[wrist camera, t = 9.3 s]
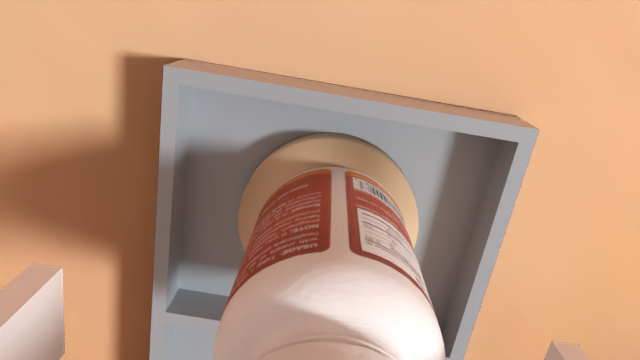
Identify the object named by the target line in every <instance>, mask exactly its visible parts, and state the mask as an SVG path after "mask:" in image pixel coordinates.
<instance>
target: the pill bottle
mask: <svg viewBox="0 0 640 360" xmlns="http://www.w3.org/2000/svg"><path fill="white" fill-rule="evenodd" d="M213 359H214V360H445V348H444V342H443V338H442V334H441V331H440V327H439V324H438V321H437V317H436V315H435V312H434V309H433V306H432V303H431V300H430V297H429V295H428V292H427V289H426V285H425V282H424V279H423V276H422V273H421V270H420V267H419V264H418V261H417V258H416V255H415V252H414V249H413V246H412V243H411V240H410V237H409V234H408V231H407V228H406V224H405V221H404V219H403V216H402V213H401V211H400V209H399V207H398V205H397V203H396V201H395V200H394V198H393V197H392V196H391V194H390V193H389V192H388V191H387V190H386V189H385V188H384V187H383V186H382V185H381V184H380V183H378V182H377V181H376V180H374V179H373V178H371V177H369V176H367V175H365V174H364V173H361V172H358V171H355V170H352V169H348V168H341V167H321V168H315V169H311V170H308V171H305V172H302V173H300V174H297V175H295V176H293V177H291V178H290V179H288V180H286V181H285V182H284V183H282V184H281V185H280V186H279V187H277V189H276V190H275V191H274V192H273V193H272V194H271V195H270V196H269V198H268V199H267V201H266V202H265V204H264V206H263V208H262V209H261V211H260V214H259V216H258V218H257V221H256V224H255V227H254V229H253V232H252V235H251V238H250V240H249V243H248V246H247V249H246V251H245V254H244V257H243V260H242V263H241V265H240V268H239V271H238V274H237V276H236V279H235V282H234V284H233V287H232V290H231V293H230V295H229V298H228V301H227V303H226V306H225V309H224V311H223V314H222V317H221V321H220V324H219V328H218V331H217V335H216V339H215V345H214V355H213Z"/></svg>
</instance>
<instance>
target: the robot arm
mask: <svg viewBox="0 0 640 360" xmlns="http://www.w3.org/2000/svg"><path fill="white" fill-rule="evenodd" d="M64 353H65V341H64V306H63V271H62V267H56V266H50V265H43V264H36V263H32V264H31V265H30V266H28V267H27V268H26V269H25V270H24V271H23V272H21V273H20V274H19V275H18V276H17V277H16V278H14V279H13V280H12V281H11V282H10V283H9V284H7V285H6V286H5V287H4V288H3V289H2V290H0V360H60V358H61V357H62V356H63V354H64ZM544 360H590V358H589V357H588V356H587V354H586V353H585V352H584V350H583V349H582V348H581V346H580V345H577V344H571V343H564V342H557V341H552V342H551V344H550V347H549V349H548V352H547V354H546V357H545V359H544Z"/></svg>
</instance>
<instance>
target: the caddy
mask: <svg viewBox="0 0 640 360" xmlns="http://www.w3.org/2000/svg"><path fill="white" fill-rule="evenodd" d="M320 132H334V133H344V134H348V135H352V136H356V137H359V138H361V139H364V140H366V141H368V142H370V143H372V144H374V145H376V146H377V147H379V148H380V149H381V150H383V151H384V152H386V153H387V154H388V155H389V156H390V157H391V158H392V159H393V160H394V161H395V162H396V164H397V165H398V166H399V167H400V169H401V170H402V172H403V173H404V175H405V177H406V179H407V181H408V183H409V186H410V188H411V191H412V193H413V196H414V198H415V202H416V206H417V210H418V219H419V223H418V235H417V240H416V244H415V247H414V252H415V255H416V258H417V261H418V264H419V267H420V270H421V273H422V276H423V279H424V282H425V285H426V289H427V292H428V295H429V297H430V300H431V303H432V306H433V309H434V312H435V315H436V317H437V321H438V324H439V327H440V331H441V334H442V338H443V342H444V348H445V360H463V358H464V355H465V352H466V349H467V346H468V343H469V340H470V337H471V334H472V331H473V328H474V325H475V322H476V319H477V316H478V313H479V310H480V307H481V304H482V301H483V298H484V295H485V292H486V289H487V286H488V283H489V280H490V277H491V274H492V271H493V268H494V265H495V262H496V259H497V256H498V253H499V250H500V247H501V244H502V241H503V238H504V235H505V232H506V229H507V226H508V223H509V220H510V217H511V214H512V211H513V208H514V205H515V202H516V199H517V196H518V193H519V190H520V187H521V184H522V181H523V178H524V175H525V172H526V169H527V166H528V163H529V160H530V157H531V154H532V151H533V148H534V145H535V142H536V139H537V136H538V133H539V129H538V128H536V127H534V126H533V125H531V124H529V123H527V122H526V121H524V120H522V119H521V118H519V117H517V116H516V115H510V114H504V113H498V112H492V111H487V110H481V109H475V108H469V107H463V106H457V105H452V104H446V103H440V102H434V101H428V100H422V99H417V98H411V97H405V96H399V95H393V94H388V93H382V92H376V91H370V90H364V89H358V88H353V87H347V86H341V85H335V84H329V83H324V82H318V81H312V80H306V79H300V78H294V77H289V76H283V75H277V74H271V73H265V72H260V71H254V70H248V69H242V68H236V67H230V66H225V65H219V64H213V63H207V62H201V61H195V60H190V59H182V60H179V61H176V62H172V63H169V64H166V65H163V86H162V107H161V127H160V148H159V169H158V190H157V211H156V231H155V252H154V273H153V294H152V315H151V335H150V356H149V360H214V359H213V355H214V345H215V339H216V335H217V331H218V328H219V324H220V321H221V317H222V314H223V311H224V309H225V306H226V303H227V301H228V298H229V295H230V293H231V290H232V287H233V284H234V282H235V279H236V276H237V274H238V271H239V268H240V265H241V263H242V260H243V257H244V254H245V251H244V249H243V246H242V243H241V239H240V235H239V228H238V212H239V207H240V201H241V198H242V196H243V193H244V190H245V188H246V186H247V184H248V182H249V181H250V179H251V177H252V175H253V173H254V171H255V170H256V168H257V167H258V166H259V164H260V163H261V162H262V161H263V160H264V159H265V158H266V156H267V155H269V154H270V153H271V152H272V151H273V150H275V149H276V148H277V147H279V146H281V145H282V144H284V143H286V142H288V141H290V140H292V139H295V138H297V137H300V136H304V135H307V134H313V133H320Z"/></svg>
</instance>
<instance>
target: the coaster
mask: <svg viewBox="0 0 640 360" xmlns="http://www.w3.org/2000/svg"><path fill="white" fill-rule="evenodd" d="M321 167H341V168H348V169H352V170H355V171H358V172H361V173H364V174H365V175H367V176H369V177H371V178H373V179H374V180H376V181H377V182H378V183H380V184H381V185H382V186H383V187H384V188H385V189H386V190H387V191H388V192H389V193H390V194H391V196H392V197H393V198H394V200H395V201H396V203H397V205H398V207H399V209H400V211H401V213H402V216H403V219H404V221H405V224H406V228H407V231H408V234H409V237H410V240H411V243H412V246H413V249H414V247H415V244H416V240H417V235H418V223H419V219H418V210H417V206H416V202H415V198H414V196H413V193H412V191H411V188H410V186H409V183H408V181H407V179H406V177H405V175H404V173H403V172H402V170H401V169H400V167H399V166H398V165H397V164H396V162H395V161H394V160H393V159H392V158H391V157H390V156H389V155H388V154H387V153H386V152H384V151H383V150H381V149H380V148H379V147H377V146H376V145H374V144H372V143H370V142H368V141H366V140H364V139H361V138H359V137H356V136H352V135H348V134H344V133H334V132H320V133H313V134H307V135H304V136H300V137H297V138H295V139H292V140H290V141H288V142H286V143H284V144H282V145H281V146H279V147H277V148H276V149H275V150H273V151H272V152H271V153H270V154H269V155H267V156H266V158H265V159H264V160H263V161H262V162H261V163H260V164H259V166H258V167H257V168H256V170H255V171H254V173H253V175H252V177H251V179H250V181H249V182H248V184H247V186H246V188H245V190H244V193H243V196H242V198H241V201H240V207H239V212H238V228H239V235H240V239H241V243H242V246H243V249H244V251H246V249H247V246H248V243H249V240H250V238H251V235H252V232H253V229H254V227H255V224H256V221H257V218H258V216H259V214H260V211H261V209H262V208H263V206H264V204H265V202H266V201H267V199H268V198H269V196H270V195H271V194H272V193H273V192H274V191H275V190H276V189H277V187H279V186H280V185H281V184H282V183H284V182H285V181H286V180H288V179H290V178H291V177H293V176H295V175H297V174H300V173H302V172H305V171H308V170H311V169H315V168H321Z"/></svg>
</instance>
